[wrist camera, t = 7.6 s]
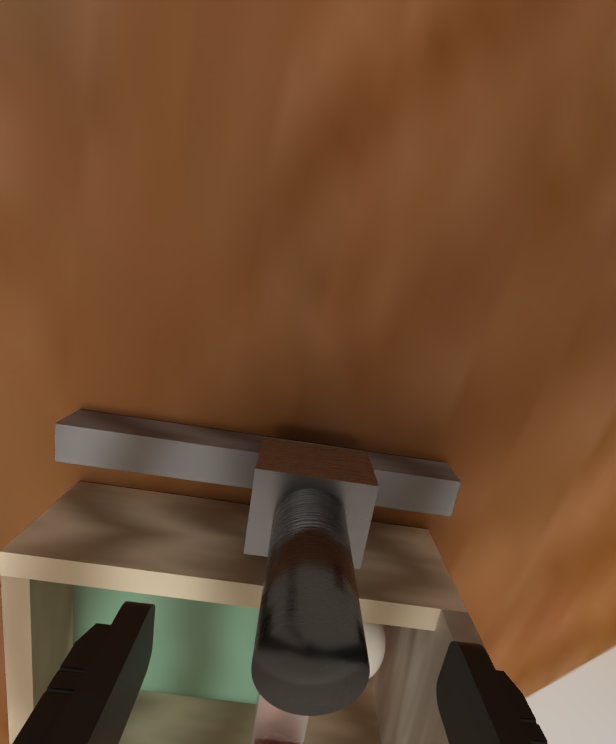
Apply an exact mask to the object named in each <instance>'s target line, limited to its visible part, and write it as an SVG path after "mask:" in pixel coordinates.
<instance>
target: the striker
mask: <svg viewBox="0 0 616 744" xmlns="http://www.w3.org/2000/svg"><path fill="white" fill-rule="evenodd" d="M378 489H379V485H378V482H377V479H376V476H375V473H374V470H373V467H372V464H371V461H370V459H369V456H368V453H367V452H362V451H355V450H348V449H341V448H334V447H328V446H321V445H314V444H307V443H300V442H293V441H286V440H280V439H273V438H266V437H264V439H263V442H262V446H261V449H260V453H259V456H258V460H257V464H256V467H255V473H254V480H253V487H252V495H251V502H250V510H249V517H248V524H247V532H246V539H245V547H244V554H250V555H257V556H265V557H267V563H266V569H265V576H264V583H263V590H262V596H261V603H260V610H259V617H258V624H257V630H256V637H255V644H254V651H253V658H252V664H251V675H252V680H253V683H254V685H255V687H256V689H257V691H258V696H257V702H256V708H255V714H254V720H253V726H252V732H251V739H250V744H303V741H304V737H305V732H306V727H307V723H308V718H309V716H319V715H325V714H330V713H333V712H336V711H339V710H341V709H343V708H345V707H346V706H348V705H350V704H351V703H352V702H354V701H355V700H356V699H357V698H358V697H359V696H360V695H361V693H362V692H363V691H364V689H365V687H366V685H367V683H368V680H369V675H370V665H369V659H368V652H367V646H366V640H365V634H364V627H363V621H362V615H361V608H360V602H359V596H358V590H357V583H356V577H355V571H354V568H355V569H360V567H361V563H362V559H363V554H364V550H365V546H366V541H367V537H368V532H369V528H370V524H371V519H372V515H373V511H374V506H375V502H376V497H377V493H378Z"/></svg>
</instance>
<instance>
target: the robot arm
mask: <svg viewBox="0 0 616 744" xmlns="http://www.w3.org/2000/svg"><path fill="white" fill-rule="evenodd" d="M154 620H155V605H154V604H148V603H139V602H131V601H125V602H124V603H123V605H122V606H121V608H120V609H119V611H118V613H117V615H116V617H115V618H114V620H113V622H112V624H111V625H109V624H100V623H96V624H95V625H94V626H93V627H91V628H90V629H89V630H88V631H87V632H86V633H85V634H84V635H83V636H82V637H80V638H79V639H78V640H77V641H76V642H75V644H74V645H73V647H72V648H71V650H70V652H69V653H68V655H67V656H66V658H65V660H64V661H63V663H62V664H61V666H60V669H59V671H57V673H56V674H55V676H54V677H53V679H52V681H51V682H50V684H49V685H48V687H47V690H46V692H44V693H43V695H42V697H41V698H40V700H39V701H38V703H37V705H36V706H35V708H34V709H33V711H32V713H31V714H30V716H29V718H28V719H27V721H26V722H25V724H24V726H23V727H22V729H21V730H20V732H19V734H18V735H17V737H16V738H15V740H14V742H13V743H12V744H119V741H120V739H121V736H122V734H123V731H124V729H125V726H126V724H127V721H128V719H129V716H130V714H131V711H132V709H133V706H134V703H135V701H136V698H137V696H138V693H139V691H140V688H141V686H142V683H143V681H144V678H145V675H146V672H147V669H148V666H149V662H150V658H151V654H152V647H153V634H154ZM436 697H437V704H438V709H439V713H440V716H441V719H442V722H443V726H444V729H445V732H446V735H447V738H448V742H449V744H547V740H546V738H545V736H544V734H543V732H542V730H541V729H540V726H539V725H538V724H537V723H536V719H535V717H534V715H533V713H532V711H531V709H530V707H529V705H528V703H527V701H526V699H525V698H524V696H523V694H522V693H521V691H520V690H519V689H518V688H517V687H516V685H515V684H514V683H513V682H512V681H511V679H510V678H509V677H508V676H507V675H506V673H505V672H504V671H498V670H495V668H494V666H493V664H492V662H491V660H490V658H489V656H488V654H487V652H486V650H485V648H484V647H483V646H482V645H480V644H476V643H467V642H459V641H452V642H450V644H449V647H448V650H447V653H446V656H445V659H444V662H443V665H442V668H441V671H440V674H439V677H438V680H437V685H436Z"/></svg>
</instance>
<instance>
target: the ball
mask: <svg viewBox="0 0 616 744" xmlns="http://www.w3.org/2000/svg"><path fill="white" fill-rule="evenodd" d="M363 627H364V634H365V640H366V646H367V652H368V659H369V665H370V675H369V678H371V677H372V676H373V675H374V674H375V673H376V672H377V670H378V669H379V667H380V665H381V663H382V661H383V658H384V654H385V647H386V640H385V632H384V628H383V625H382V624H376V623H368V622H363Z"/></svg>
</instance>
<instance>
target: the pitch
mask: <svg viewBox="0 0 616 744" xmlns="http://www.w3.org/2000/svg"><path fill="white" fill-rule="evenodd" d="M264 437H266V436H259V435H253V434H246V433H239V432H232V431H225V430H218V429H211V428H205V427H198V426H191V425H184V424H177V423H170V422H163V421H157V420H150V419H143V418H136V417H129V416H122V415H115V414H109V413H102V412H95V411H88V410H81V409H80V410H78V411H76V412H74V413H73V414H71V415H69V416H67V417H66V418H64V419H62V420H60V421H58V422H57V423H55V461H58V462H65V463H72V464H79V465H86V466H93V467H100V468H107V469H115V470H122V471H129V472H136V473H143V474H150V475H157V476H164V477H172V478H179V479H186V480H193V481H200V482H207V483H214V484H222V485H229V486H236V487H243V488H250V489H252V487H253V480H254V473H255V467H256V464H257V460H258V456H259V453H260V449H261V446H262V442H263V439H264ZM266 438H273V437H266ZM273 439H280V438H273ZM280 440H286V441H293V442H300V443H307V442H301V441H294V440H287V439H280ZM307 444H314V443H307ZM314 445H321V444H314ZM321 446H328V445H321ZM328 447H334V448H341V449H348V450H355V449H349V448H342V447H335V446H328ZM355 451H362V450H355ZM362 452H367V453H368V456H369V459H370V461H371V464H372V467H373V470H374V473H375V476H376V479H377V482H378V485H379V489H378V493H377V497H376V502H375V506H378V507H386V508H393V509H400V510H407V511H414V512H421V513H428V514H436V515H443V516H450V517H451V515H452V511H453V508H454V504H455V501H456V497H457V494H458V490H459V487H460V483H461V482H460V480H459V479H458V478H457V476H456V475H455V474H454V472H453V471H452V470H451V468H450V467H449V466H448V464H447V463H445V462H438V461H431V460H424V459H417V458H410V457H403V456H397V455H390V454H383V453H376V452H369V451H362ZM249 510H250V505H248V504H241V503H234V502H227V501H219V500H212V499H205V498H198V497H191V496H183V495H176V494H169V493H162V492H154V491H147V490H140V489H133V488H126V487H118V486H111V485H104V484H97V483H90V482H82V481H79V482H78V483H77V484H76V485H74V486H73V487H72V488H71V489H70V490H69V491H68V492H66V493H65V494H64V495H63V496H62V497H61V498H60V499H58V500H57V501H56V502H55V503H54V504H53V505H52V506H50V507H49V508H48V509H47V510H46V511H45V512H44V513H43V514H41V515H40V516H39V517H38V518H37V519H36V520H35V521H33V522H32V523H31V524H30V525H29V526H28V527H27V528H25V529H24V530H23V531H22V532H21V533H20V534H19V535H17V536H16V537H15V538H14V539H13V540H12V541H11V542H9V543H8V544H7V545H6V546H5V547H4V548H3V549H1V550H0V575H1V594H2V612H3V631H4V649H5V668H6V687H7V705H8V724H9V742H10V744H12V743H13V742H14V740H15V738H16V737H17V735H18V734H19V732H20V730H21V729H22V727H23V726H24V724H25V722H26V721H27V719H28V718H29V716H30V714H31V713H32V711H33V709H34V708H35V706H36V705H37V703H38V701H39V700H40V698H41V697H42V695H43V693H44V692H46V690H47V687H48V685H49V684H50V682H51V681H52V679H53V677H54V676H55V674H56V673H57V671H59V669H60V666H61V664H62V663H63V661H64V660H65V658H66V656H67V655H68V653H69V652H70V650H71V648H72V647H73V645H74V644H75V642H76V641H77V640H78V639H79V638H80V637H82V636H83V635H84V634H85V633H86V632H87V631H88V630H89V629H90V628H91V627H93V626H94V625H95V624H96V623H100V624H109V625H111V624H112V622H113V620H114V618H115V617H116V615H117V613H118V611H119V609H120V608H121V606H122V605H123V603H124V602H125V601H131V602H139V603H148V604H154V605H155V620H154V634H153V647H152V654H151V658H150V662H149V666H148V669H147V672H146V675H145V678H144V681H143V683H142V686H141V688H140V691H139V693H138V696H137V698H136V701H135V703H134V706H133V709H132V711H131V714H130V716H129V719H128V721H127V724H126V726H125V729H124V731H123V734H122V736H121V739H120V741H119V744H250V739H251V732H252V726H253V720H254V714H255V708H256V702H257V696H258V691H257V689H256V687H255V685H254V683H253V680H252V675H251V664H252V658H253V651H254V644H255V637H256V630H257V624H258V617H259V610H260V603H261V596H262V590H263V583H264V576H265V569H266V563H267V557H265V556H257V555H250V554H244V547H245V539H246V532H247V524H248V517H249ZM354 571H355V577H356V583H357V590H358V596H359V602H360V608H361V615H362V621H363V622H368V623H376V624H383V628H384V632H385V640H386V647H385V654H384V658H383V661H382V663H381V665H380V667H379V669H378V670H377V672H376V673H375V674H374V675H373V676H372V677H371V678H369V680H368V683H367V685H366V687H365V689H364V691H363V692H362V693H361V695H360V696H359V697H358V698H357V699H356V700H355V701H354V702H352V703H351V704H350V705H348V706H346V707H345V708H343V709H341V710H339V711H336V712H333V713H330V714H325V715H319V716H309V718H308V723H307V727H306V732H305V737H304V741H303V744H449V742H448V738H447V735H446V732H445V729H444V726H443V722H442V719H441V716H440V713H439V709H438V704H437V697H436V685H437V680H438V677H439V674H440V671H441V668H442V665H443V662H444V659H445V656H446V653H447V650H448V647H449V644H450V642H452V641H459V642H467V643H476V644H480V645H482V646H483V647H484V645H483V643H482V640H481V638H480V636H479V634H478V632H477V630H476V628H475V626H474V624H473V622H472V620H471V618H470V616H469V613H468V611H467V609H466V607H465V605H464V603H463V601H462V599H461V597H460V595H459V593H458V591H457V589H456V586H455V584H454V582H453V580H452V578H451V576H450V574H449V572H448V570H447V568H446V566H445V564H444V562H443V559H442V557H441V555H440V553H439V551H438V549H437V547H436V545H435V543H434V541H433V539H432V537H431V535H430V532H429V530H428V529H422V528H414V527H407V526H400V525H393V524H385V523H378V522H371V524H370V528H369V532H368V537H367V541H366V546H365V550H364V554H363V559H362V563H361V567H360V569H355V568H354ZM484 648H485V647H484ZM485 650H486V649H485ZM486 652H487V651H486ZM487 654H488V653H487ZM488 656H489V655H488ZM489 658H490V657H489ZM490 660H491V659H490ZM491 662H492V661H491ZM492 664H493V663H492ZM493 666H494V665H493ZM494 668H495V667H494Z"/></svg>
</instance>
